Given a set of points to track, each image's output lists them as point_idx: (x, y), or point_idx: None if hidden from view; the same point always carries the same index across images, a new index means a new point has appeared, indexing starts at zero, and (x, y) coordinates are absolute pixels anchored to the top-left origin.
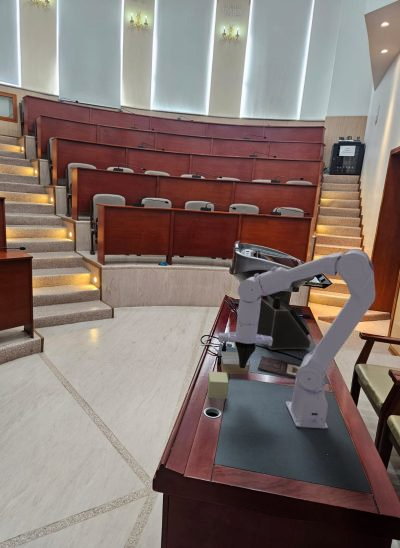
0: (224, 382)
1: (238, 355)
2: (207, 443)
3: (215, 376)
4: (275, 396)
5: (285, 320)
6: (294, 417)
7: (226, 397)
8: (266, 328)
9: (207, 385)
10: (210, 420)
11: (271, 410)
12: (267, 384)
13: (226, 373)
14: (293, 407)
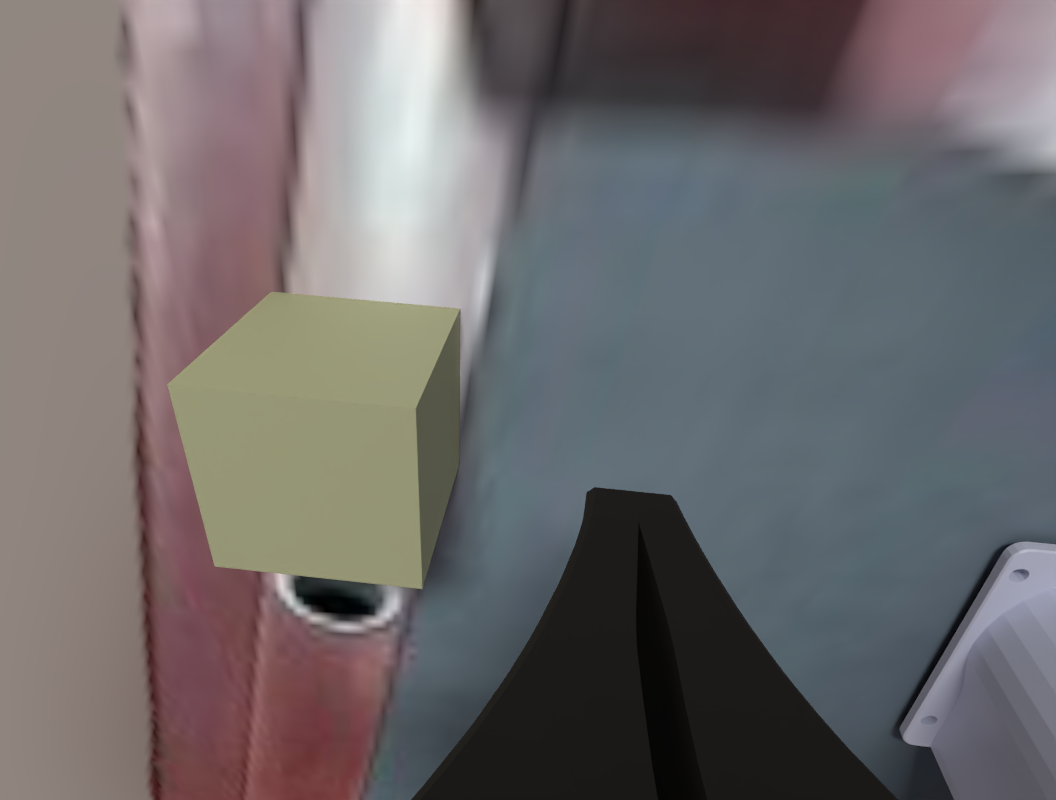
0: (377, 583)
1: (555, 600)
2: (320, 760)
3: (268, 484)
4: (978, 444)
5: None
6: (943, 696)
7: (455, 472)
8: None
9: (262, 299)
10: (328, 647)
11: (811, 597)
12: (1042, 227)
13: (414, 426)
14: (991, 705)
